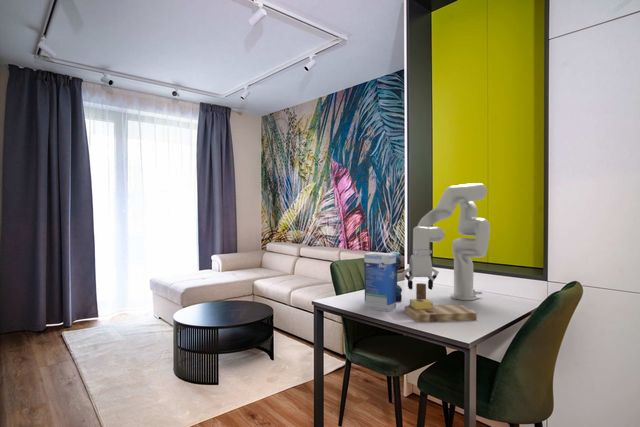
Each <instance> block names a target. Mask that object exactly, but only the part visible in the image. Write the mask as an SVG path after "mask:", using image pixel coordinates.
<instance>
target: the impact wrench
mask: <svg viewBox="0 0 640 427" xmlns="http://www.w3.org/2000/svg"><path fill="white" fill-rule="evenodd" d="M388 253H391V254H396V303H397V302H402V299H403V298H402V297H403V296H402V292H403V289H402V287H401V285H399V284H398V271H399V269H400V267H401V265H402V261H403V257H402V254H401V253H400V252H398V251H397V250H391V251H388Z"/></svg>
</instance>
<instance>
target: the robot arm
mask: <svg viewBox="0 0 640 427" xmlns="http://www.w3.org/2000/svg"><path fill="white" fill-rule="evenodd" d="M487 194H488V189H487V187H486V186H485V184H483V183H480V182H478V183H475V182H474V183H465V184H464V183H463V184H458V185H450V186H448V187H446V188H445V190H444V192H443V193H442V195H441V197H440V198H439V200H438V203H437V205H436V206H435V208H432V210H430V211H428V212H427V213H426V214H425V215H424V216H423V217H422V218H420V220H419V222H418V223H417V226H414V227H413V229H412V230H413V231H412V237H413V238H412V254H411V255H410V257H409V264H408V268H406V269H403V271H402V274H403V276H404V278H405V279H406V280H407V287H408V289H409V290H410V291H411V290H413V279H414V278H428V280H427V289H429V290H433V287H434V281H435V279H437V276H438V274H439V271H438V270H436V269H434V268H433V265H432V257H431V254H432V253H433V251H432V250H431V249H430V243H439V242H441V241H443V240H444V239H445V235H446V233H445V231H444V229H443V228H442V227H440V226H435V225H434V224H436V223H438V222H440V221H443V220H446V219H448V218H451V217H452V215H453V214H454V212H455V210H456V207H457V206H459V218H458V222H457V223H458V226H457V231H458V234H460V235H462V236H465V237H457V238H455V239H453V241H452V244H451V249H452V254H453V293H451V294H450V297H451V298H452V299H453V300H454V299H455V300H459V301H475V300H477V295H483V290H477V289H474V263H473V260H472V258H484V257H485V256H486V255H487V252H488V248H489V243H490V242H489V241H490V234H491V225H490V222H489V221H488V220H487V219H486V218H484V217H483V218H482V217H478V207H477V205H476V203H475V201H481V200H484V199H485V197H486V196H487ZM467 236H469V237H467ZM470 237H471V238H470ZM472 237H473V238H472ZM474 237H475V238H474Z"/></svg>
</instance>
